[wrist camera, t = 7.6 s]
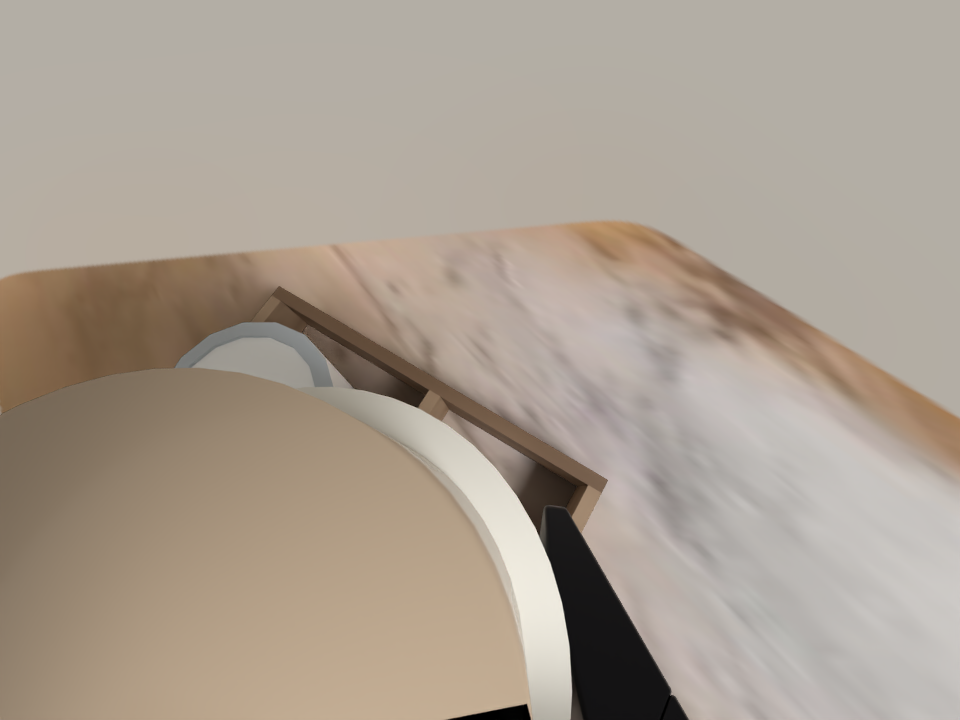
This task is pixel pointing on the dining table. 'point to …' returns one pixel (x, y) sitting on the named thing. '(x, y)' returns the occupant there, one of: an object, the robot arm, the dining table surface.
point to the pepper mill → (264, 560)
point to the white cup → (265, 355)
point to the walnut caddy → (441, 398)
